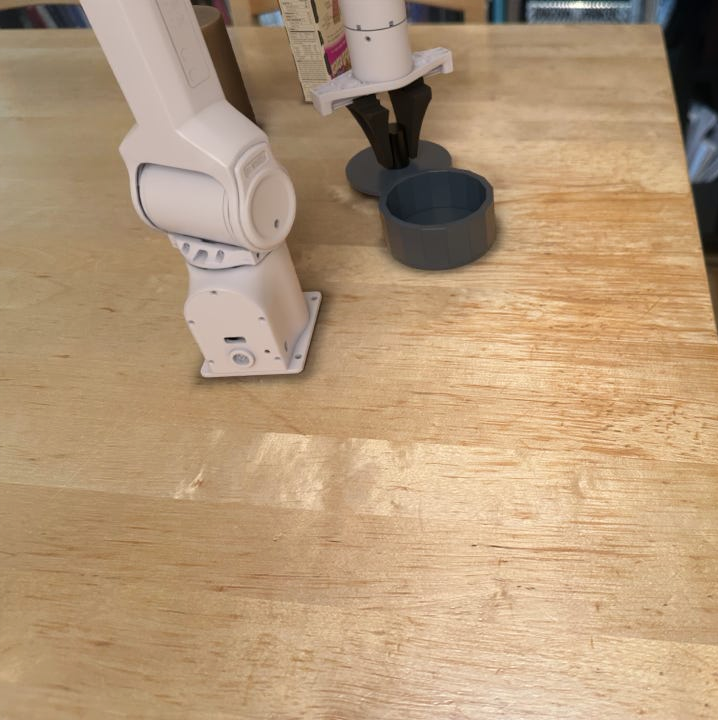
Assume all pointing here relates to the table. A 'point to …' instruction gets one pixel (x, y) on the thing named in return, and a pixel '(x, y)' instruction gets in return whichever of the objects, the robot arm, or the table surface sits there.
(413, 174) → the pot
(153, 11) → the robot arm
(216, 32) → the pillar candle
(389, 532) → the table surface
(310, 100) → the candy bar box
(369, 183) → the lid
